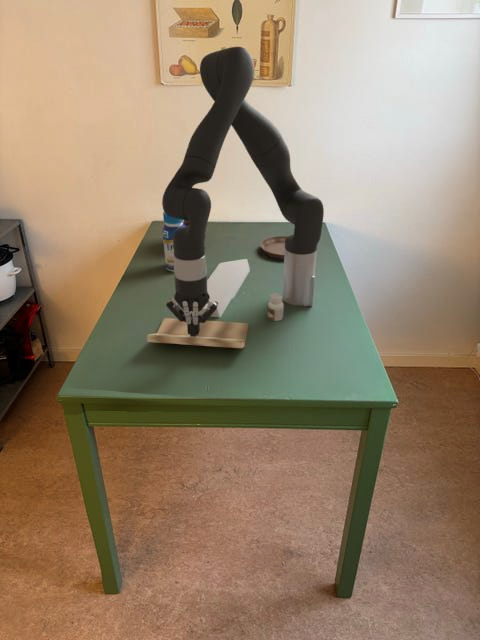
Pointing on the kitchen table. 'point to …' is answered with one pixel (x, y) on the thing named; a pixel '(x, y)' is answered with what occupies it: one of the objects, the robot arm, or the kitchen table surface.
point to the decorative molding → (225, 284)
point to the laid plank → (206, 329)
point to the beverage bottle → (170, 239)
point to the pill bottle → (275, 307)
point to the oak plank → (196, 340)
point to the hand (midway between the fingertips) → (193, 334)
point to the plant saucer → (274, 246)
